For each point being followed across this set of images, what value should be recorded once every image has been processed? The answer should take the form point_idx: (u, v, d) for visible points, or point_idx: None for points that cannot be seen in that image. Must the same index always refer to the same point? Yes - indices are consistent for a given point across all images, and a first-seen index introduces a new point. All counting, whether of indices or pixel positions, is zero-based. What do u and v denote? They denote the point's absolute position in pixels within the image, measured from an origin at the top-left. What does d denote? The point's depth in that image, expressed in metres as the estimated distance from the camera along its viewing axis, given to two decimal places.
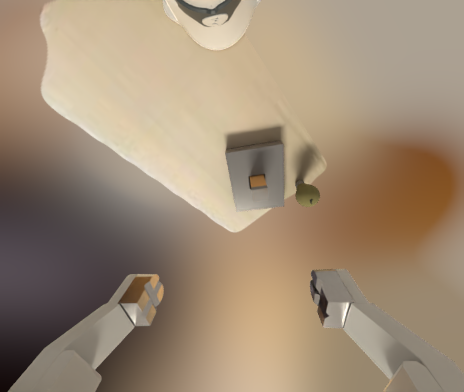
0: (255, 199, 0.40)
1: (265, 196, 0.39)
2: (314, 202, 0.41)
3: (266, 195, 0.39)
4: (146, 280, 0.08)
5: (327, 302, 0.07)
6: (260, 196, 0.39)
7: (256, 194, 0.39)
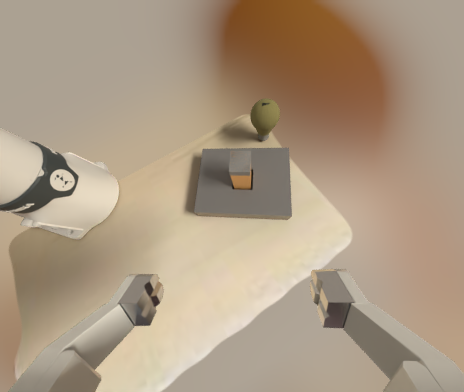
0: (246, 167, 0.26)
1: (243, 154, 0.27)
2: (268, 100, 0.31)
3: (242, 153, 0.27)
4: (146, 280, 0.08)
5: (327, 302, 0.07)
6: (242, 160, 0.27)
7: (237, 165, 0.26)
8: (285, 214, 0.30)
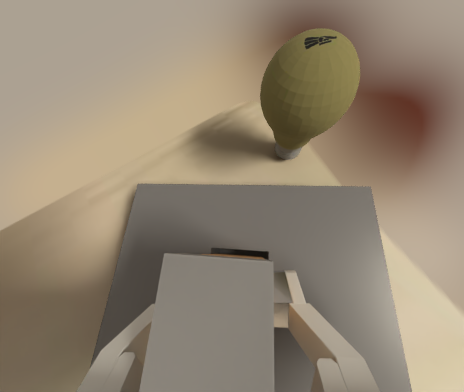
0: None
1: (231, 285, 0.05)
2: (327, 30, 0.08)
3: (223, 274, 0.05)
4: None
5: None
6: (223, 330, 0.04)
7: (191, 371, 0.04)
8: None
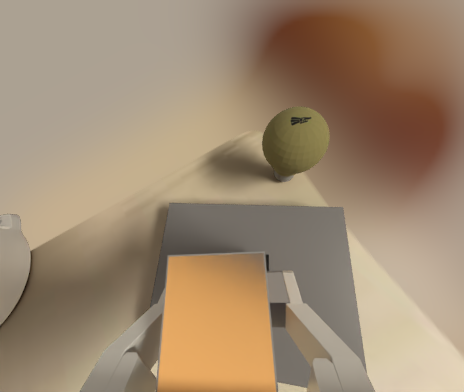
0: (252, 373, 0.04)
1: (230, 276, 0.05)
2: (305, 111, 0.13)
3: (222, 267, 0.05)
4: None
5: None
6: (227, 316, 0.05)
7: (202, 355, 0.05)
8: None
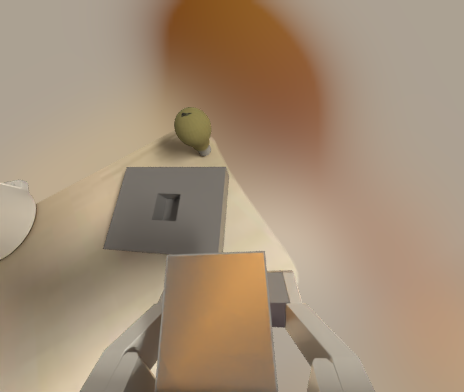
0: (252, 374, 0.04)
1: (230, 275, 0.05)
2: (190, 110, 0.24)
3: (222, 267, 0.05)
4: None
5: None
6: (227, 316, 0.05)
7: (201, 356, 0.05)
8: None
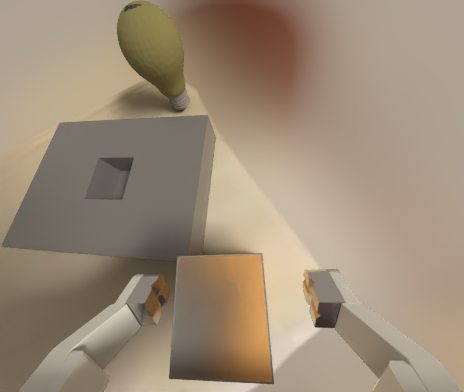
0: (251, 356, 0.05)
1: (232, 274, 0.06)
2: (140, 1, 0.14)
3: (225, 267, 0.06)
4: (153, 280, 0.08)
5: (318, 302, 0.07)
6: (229, 308, 0.06)
7: (208, 341, 0.06)
8: (174, 258, 0.13)
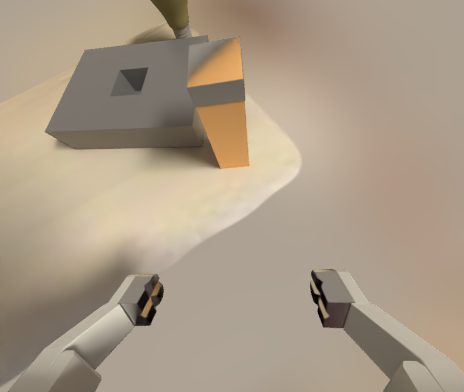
0: (232, 72, 0.10)
1: (222, 46, 0.10)
2: None
3: (218, 44, 0.11)
4: (146, 280, 0.08)
5: (327, 302, 0.07)
6: (220, 59, 0.10)
7: (208, 72, 0.10)
8: (182, 124, 0.17)
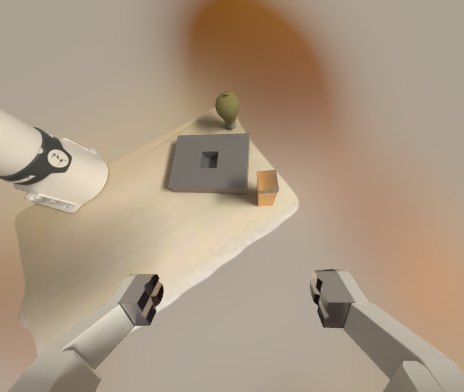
0: (274, 186, 0.29)
1: (269, 174, 0.29)
2: (227, 92, 0.37)
3: (268, 172, 0.29)
4: (146, 280, 0.08)
5: (327, 302, 0.07)
6: (269, 179, 0.29)
7: (265, 185, 0.29)
8: (241, 186, 0.36)
